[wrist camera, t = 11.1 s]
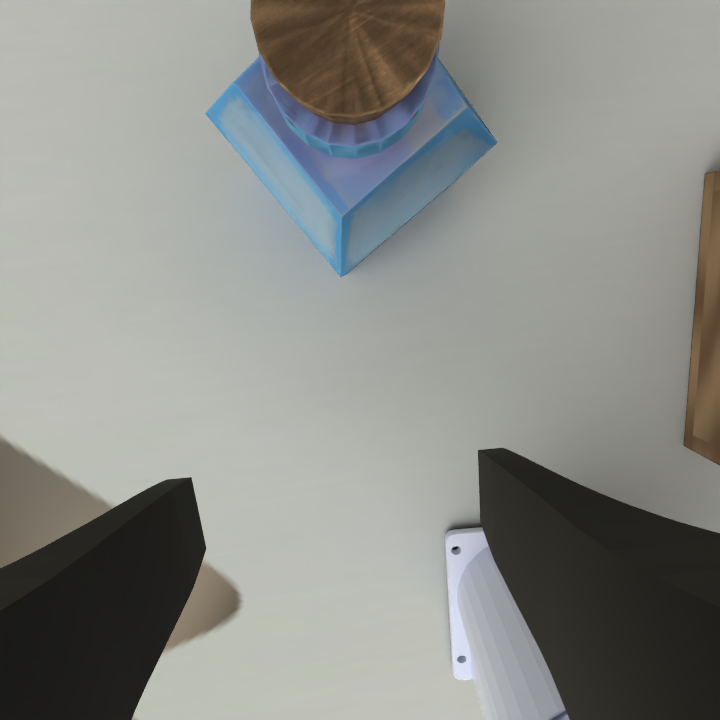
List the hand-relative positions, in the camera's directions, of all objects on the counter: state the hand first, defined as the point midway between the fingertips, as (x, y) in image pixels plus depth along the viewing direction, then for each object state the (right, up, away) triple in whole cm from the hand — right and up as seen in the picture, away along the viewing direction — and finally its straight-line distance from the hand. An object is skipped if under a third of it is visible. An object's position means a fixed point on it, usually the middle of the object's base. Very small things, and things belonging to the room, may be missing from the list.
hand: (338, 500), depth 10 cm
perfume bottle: (0, +12, +8) cm, 14 cm away
